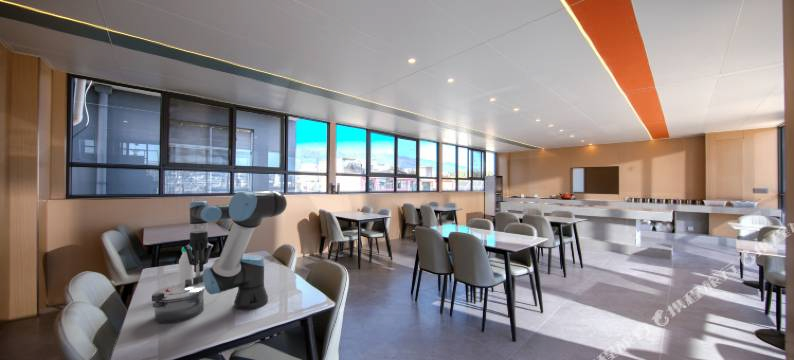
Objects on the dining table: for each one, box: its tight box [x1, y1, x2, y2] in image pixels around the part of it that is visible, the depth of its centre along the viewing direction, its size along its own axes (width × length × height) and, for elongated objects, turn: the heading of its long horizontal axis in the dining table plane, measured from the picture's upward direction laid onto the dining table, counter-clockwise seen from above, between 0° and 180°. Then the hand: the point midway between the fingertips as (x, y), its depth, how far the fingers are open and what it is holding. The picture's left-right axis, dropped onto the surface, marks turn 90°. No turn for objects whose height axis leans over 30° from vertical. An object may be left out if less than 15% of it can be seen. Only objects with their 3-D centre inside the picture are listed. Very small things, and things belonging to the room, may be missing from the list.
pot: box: [152, 289, 205, 325], centre depth 136 cm, size 26×19×10 cm
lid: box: [151, 273, 206, 303], centre depth 136 cm, size 28×20×4 cm
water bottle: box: [178, 246, 196, 284], centre depth 161 cm, size 7×7×25 cm
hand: (198, 278), depth 147 cm, fingers closed
